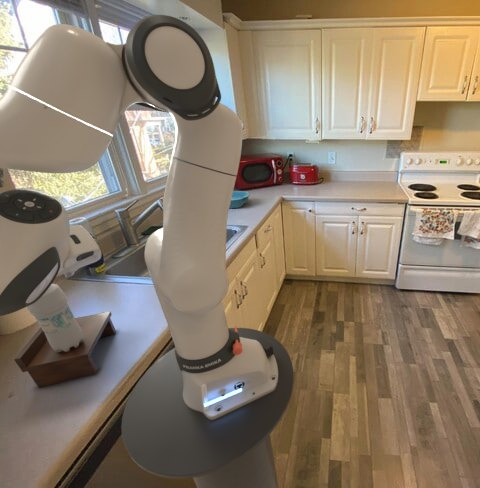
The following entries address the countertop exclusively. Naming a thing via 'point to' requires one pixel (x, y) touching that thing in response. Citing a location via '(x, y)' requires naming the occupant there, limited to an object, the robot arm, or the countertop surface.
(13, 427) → the countertop surface
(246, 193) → the casserole dish
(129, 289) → the countertop surface
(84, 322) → the shelf
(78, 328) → the bottle
